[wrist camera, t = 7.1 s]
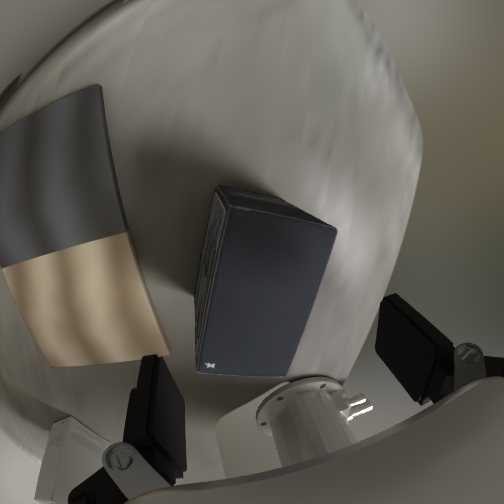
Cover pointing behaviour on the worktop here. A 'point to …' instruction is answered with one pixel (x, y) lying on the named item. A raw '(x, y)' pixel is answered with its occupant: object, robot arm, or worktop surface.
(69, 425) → the skincare box
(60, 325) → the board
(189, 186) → the worktop surface
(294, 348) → the small box
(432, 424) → the robot arm
